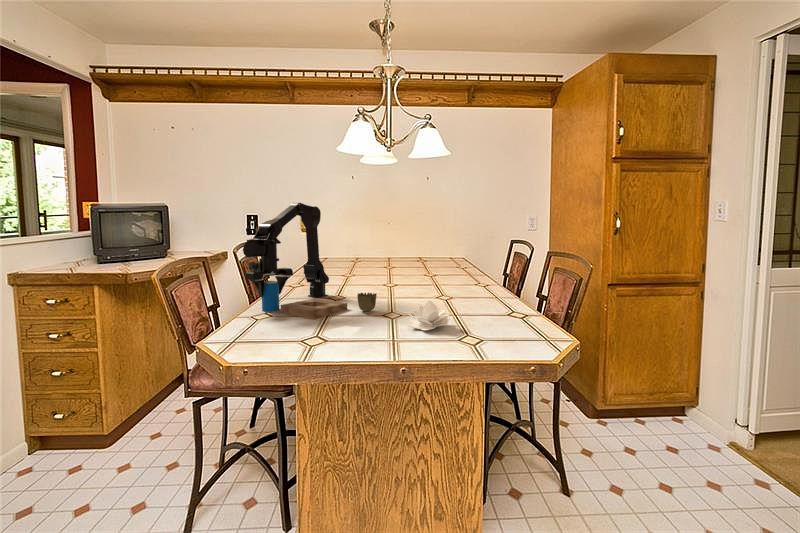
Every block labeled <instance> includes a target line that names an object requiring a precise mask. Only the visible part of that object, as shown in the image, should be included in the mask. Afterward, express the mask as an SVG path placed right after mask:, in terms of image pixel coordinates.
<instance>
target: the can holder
mask: <svg viewBox="0 0 800 533" xmlns="http://www.w3.org/2000/svg"><path fill="white" fill-rule="evenodd" d="M347 310H348V303H347V302H341V301H335V300H329V299H323V298H316V297H314V298H310V299H305V300H300V301H294V302H289V303H285V304H284V303H283V304H280V313H281V314H285V315H289V316H290V315H291V316H295V317H300V318H303V317H304V319H308V320H312V321H313V320H317V318H318V319H320V318H323V317H327V316H330V315H333V314H337V313H341V312H344V311H347Z"/></svg>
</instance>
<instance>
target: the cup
mask: <svg viewBox="0 0 800 533" xmlns="http://www.w3.org/2000/svg"><path fill="white" fill-rule="evenodd" d="M356 295H357V296H356V297H357V303H358V307H359V309H360V310H361V311H362V312H361V313H362V314H371V313H373V311H374V309H375V308H376V303H377V292H376V293H375V292H373V293H372V292H358V293H357V294H356Z"/></svg>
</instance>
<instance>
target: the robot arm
mask: <svg viewBox="0 0 800 533" xmlns="http://www.w3.org/2000/svg"><path fill="white" fill-rule="evenodd" d="M297 216H298V217H300V219H301V220H300V221H301V223H302V224H303V226H304V228H305V237H306V238H305V239H306V253H307V261H306V263H305V264H303V274H304V278H305V280H306V283H307V284H309V294H308V295H307V297H309V298H310V297H311V298H316V299H320V298H323V297H328V296H329V294H326V284H329V280H330V278H329V276H328V274H327V273H326V271H325V268H324V265H323V263H322V261H321V259H320V249H319V232H318V227H319V224H320V222H321V209H320V208H319V207H318V206H313V205H312V206H311V205H308V204H305V203H302V202H292V203H291V204H290V205H289V206H288V207H287V208H285V209H284V210H283V211H281V212H280V213H279V214H278V215H276V216H275V217H274V218H272V219H269V220H266V221H264V222H262V223H260V224H259V225H258V228H257V231H256V233H255V234H254V236H253V238H248V239H246V242H245V243H244V244H243V247H242V252H243V255H244V256H245V258H249V259H250V258H258V257H259V258H258V262H255V261H250V262H248V270H249V271H246V272H245V274H244V279H245V280H249V281H250V282H252V283H253V284H254V286H255V288H256V290H257V293H258V295H259V297H260V298H262V297H263V292H264V281H266V280H265V279H263V278H264V277H272V276H274V277H275V280H276V281H277V283H278V284H279V295H281V293H282V291H283V289H284V287H285V285H286V283H287V281H288V280H289V279H290V278H291V276H294V271H293V269H292V268H291V267H290V268H289V267H280V268H279V267H278V262H280V258H278V249H277V247H278V246H277V245H278V244H281V243H282V242H281V241H280V239H278V237H279V235H280V234H281V233H282V231H283V228H284V227H285V226H286V225H287V224H289V223H290V222H291V221H292V220H294V218H296V217H297Z"/></svg>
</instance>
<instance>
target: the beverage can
mask: <svg viewBox="0 0 800 533" xmlns="http://www.w3.org/2000/svg"><path fill="white" fill-rule="evenodd" d="M261 311H262V312H263V311H264V312H263V313H274V312H278V311H280V294H279V284H278V283H277V280H265V281H264V292H263V297H261Z"/></svg>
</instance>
